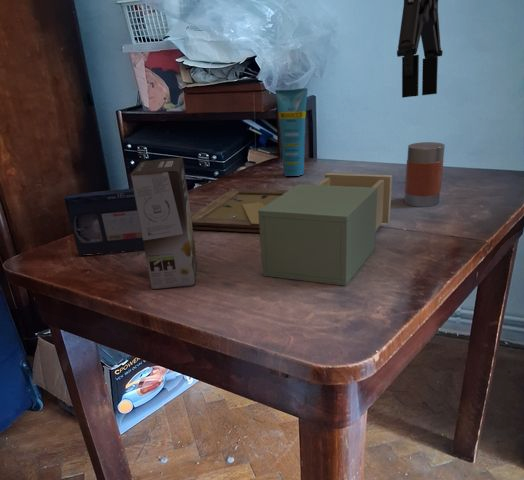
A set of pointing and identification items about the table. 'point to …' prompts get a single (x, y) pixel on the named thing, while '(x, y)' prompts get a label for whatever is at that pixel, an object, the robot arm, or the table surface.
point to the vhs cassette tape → (104, 221)
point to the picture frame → (235, 210)
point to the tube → (292, 128)
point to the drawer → (367, 180)
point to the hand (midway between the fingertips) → (420, 95)
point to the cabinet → (318, 233)
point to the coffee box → (165, 222)
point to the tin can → (424, 174)
